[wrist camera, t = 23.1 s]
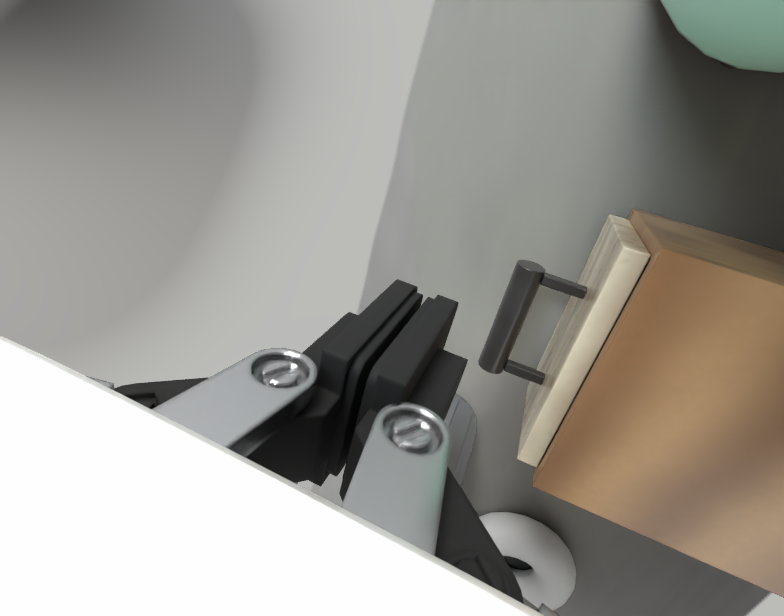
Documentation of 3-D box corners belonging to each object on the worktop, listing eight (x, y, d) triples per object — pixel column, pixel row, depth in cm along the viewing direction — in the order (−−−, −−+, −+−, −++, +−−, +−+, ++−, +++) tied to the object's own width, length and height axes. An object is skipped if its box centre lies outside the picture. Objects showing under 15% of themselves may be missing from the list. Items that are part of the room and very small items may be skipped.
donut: (581, 594, 39) (570, 508, 36) (582, 634, 37) (570, 544, 33) (470, 577, 43) (451, 498, 40) (463, 612, 40) (442, 529, 37)
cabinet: (540, 394, 33) (532, 486, 25) (632, 207, 27) (662, 247, 18) (750, 478, 30) (820, 614, 22) (913, 290, 24) (1100, 383, 15)
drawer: (474, 368, 33) (451, 431, 27) (542, 193, 27) (535, 218, 21) (723, 466, 30) (769, 569, 23) (866, 291, 24) (985, 360, 17)
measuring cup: (400, 430, 39) (360, 508, 32) (417, 377, 37) (377, 447, 29) (464, 458, 38) (438, 546, 30) (486, 406, 35) (464, 487, 28)
